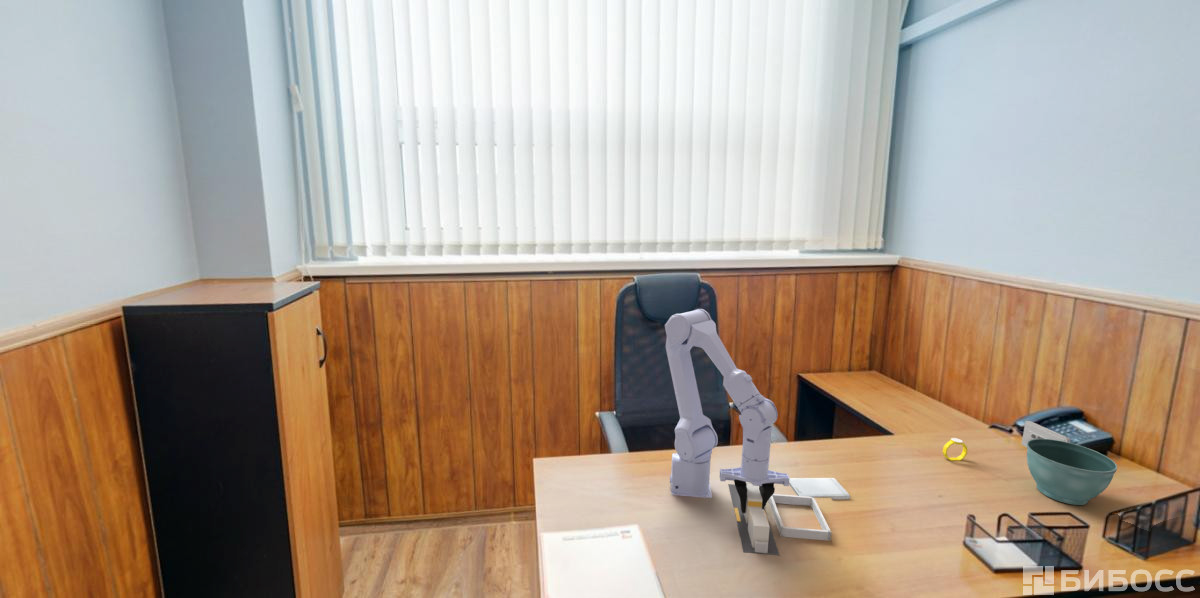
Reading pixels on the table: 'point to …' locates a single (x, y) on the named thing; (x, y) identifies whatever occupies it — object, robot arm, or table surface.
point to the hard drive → (818, 487)
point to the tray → (800, 532)
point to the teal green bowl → (1068, 470)
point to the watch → (959, 442)
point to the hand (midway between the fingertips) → (751, 511)
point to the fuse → (758, 526)
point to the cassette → (1040, 433)
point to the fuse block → (760, 547)
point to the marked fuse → (752, 500)
